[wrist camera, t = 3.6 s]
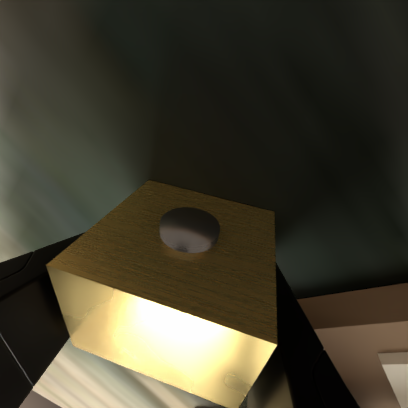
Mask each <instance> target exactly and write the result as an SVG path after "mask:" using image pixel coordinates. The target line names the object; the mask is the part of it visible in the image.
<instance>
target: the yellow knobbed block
mask: <svg viewBox="0 0 408 408" xmlns="http://www.w3.org/2000/svg"><path fill="white" fill-rule="evenodd" d="M46 267H47V270H48V273H49V276H50V279H51V282H52V285H53V288H54V291H55V294H56V296H57V299H58V302H59V305H60V308H61V311H62V314H63V317H64V320H65V323H66V326H67V329H68V332H69V335H70V338H71V341H72V344H73V346H75V347H77V348H80V349H82V350H85V351H87V352H90V353H92V354H95V355H97V356H100V357H102V358H105V359H107V360H110V361H112V362H115V363H117V364H120V365H122V366H125V367H127V368H130V369H132V370H135V371H137V372H140V373H142V374H145V375H147V376H150V377H152V378H155V379H157V380H160V381H162V382H165V383H167V384H170V385H172V386H175V387H177V388H180V389H182V390H185V391H187V392H189V393H192V394H194V395H197V396H199V397H202V398H204V399H207V400H209V401H212V402H214V403H217V404H219V405H222V406H224V407H227V408H239V407H240V405H241V403H242V402H243V400H244V398H245V397H246V395H247V393H248V392H249V390H250V389H251V387H252V385H253V384H254V382H255V380H256V379H257V377H258V376H259V374H260V372H261V371H262V369H263V367H264V366H265V364H266V363H267V361H268V359H269V358H270V356H271V354H272V353H273V351H274V349H275V348H276V346H277V307H276V260H275V214H274V212H273V211H269V210H265V209H261V208H257V207H253V206H250V205H246V204H242V203H238V202H234V201H230V200H226V199H222V198H218V197H214V196H210V195H206V194H203V193H199V192H195V191H191V190H187V189H183V188H179V187H175V186H171V185H167V184H163V183H159V182H156V181H152V180H148V181H147V182H146V183H145V184H143V185H142V186H141V187H140V188H139V189H137V190H136V191H135V192H134V193H133V194H131V195H130V196H129V197H128V198H127V199H125V200H124V201H123V202H122V203H120V204H119V205H118V206H117V207H116V208H114V209H113V210H112V211H111V212H110V213H108V214H107V215H106V216H105V217H104V218H102V219H101V220H100V221H99V222H98V223H96V224H95V225H94V226H93V227H91V228H90V229H89V230H88V231H87V232H85V233H84V234H83V235H82V236H81V237H79V238H78V239H77V240H76V241H75V242H73V243H72V244H71V245H70V246H68V247H67V248H66V249H65V250H64V251H62V252H61V253H60V254H59V255H58V256H56V257H55V258H54V259H53V260H52V261H50V262H49V263H48V264H47V265H46Z"/></svg>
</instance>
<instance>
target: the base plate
mask: <svg viewBox="0 0 408 408" xmlns="http://www.w3.org/2000/svg"><path fill="white" fill-rule="evenodd" d="M297 301H298V302H299V304H300V306H301V308H302V309H303V311H304V313H305V315H306V316H307V318H308V320H309V322H310V323H311V325H312V327H313V329H314V331H315V332H316V334H317V336H318V338H319V339H320V341H321V343H322V345H323V346H324V350H326V352H327V353H328V355H329V357H330V359H331V360H332V362H333V364H334V366H335V367H336V369H337V371H338V372H339V374H340V376H341V377H342V379H343V381H344V382H345V384H346V386H347V387H348V389H349V390H350V392H351V394H352V395H353V397H354V398H355V400H356V401H357V403H358V404H359V406H360V408H408V283H403V284H396V285H390V286H383V287H376V288H370V289H363V290H357V291H350V292H344V293H337V294H330V295H324V296H317V297H311V298H304V299H297Z"/></svg>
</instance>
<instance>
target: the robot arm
mask: <svg viewBox="0 0 408 408" xmlns="http://www.w3.org/2000/svg"><path fill="white" fill-rule="evenodd" d="M83 234H84V233H82V234H79V235H76V236H74V237H71V238H68V239H65V240H62V241H60V242H57V243H54V244H51V245H49V246H46V247H43V248H40V249H38V250H35V251H34V252H29V253H27V254H24V255H21V256H18V257H15V258H12V259H10V260H7V261H4V262H1V263H0V408H19V407H20V405H21V404H22V402H23V401H24V399H25V398H26V397H27V396H28V394H29V393H30V391H31V390H32V389H33V386H35V384H36V383H37V382H38V380H39V379H40V377H41V376H42V375H43V373H44V372H45V371H46V369H47V368H48V366H49V365H50V364H51V362H52V361H53V360H54V358H55V357H56V355H57V354H58V353H59V351H60V350H61V349H62V347H63V346H64V344H65V343H66V342H67V340H68V339H69V338H70V335H69V332H68V329H67V326H66V323H65V320H64V317H63V314H62V311H61V308H60V305H59V302H58V299H57V296H56V294H55V291H54V288H53V285H52V282H51V279H50V276H49V273H48V270H47V267H46V265H47V264H48V263H49V262H50V261H52V260H53V259H54V258H55V257H56V256H58V255H59V254H60V253H61V252H62V251H64V250H65V249H66V248H67V247H68V246H70V245H71V244H72V243H73V242H75V241H76V240H77V239H78V238H79V237H81V236H82V235H83ZM276 307H277V346H276V348H275V349H274V351H273V353H272V354H271V356H270V358H269V359H268V361H267V363H266V364H265V366H264V367H263V369H262V371H261V372H260V374H259V376H258V377H257V379H256V380H255V382H254V384H253V385H252V387H251V389H250V390H249V392H248V400H247V408H360V406H359V404H358V403H357V401H356V400H355V398H354V397H353V395H352V394H351V392H350V390H349V389H348V387H347V386H346V384H345V382H344V381H343V379H342V377H341V376H340V374H339V372H338V371H337V369H336V367H335V366H334V364H333V362H332V360H331V359H330V357H329V355H328V353H327V352H326V350H324V346H323V345H322V343H321V341H320V339H319V338H318V336H317V334H316V332H315V331H314V329H313V327H312V325H311V323H310V322H309V320H308V318H307V316H306V315H305V313H304V311H303V309H302V308H301V306H300V304H299V302H298V301H297V299H296V297H295V295H294V293H293V292H292V290H291V288H290V286H289V285H288V283H287V281H286V279H285V278H284V276H283V274H282V272H281V271H280V269H279V267H278V265H277V263H276Z"/></svg>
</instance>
